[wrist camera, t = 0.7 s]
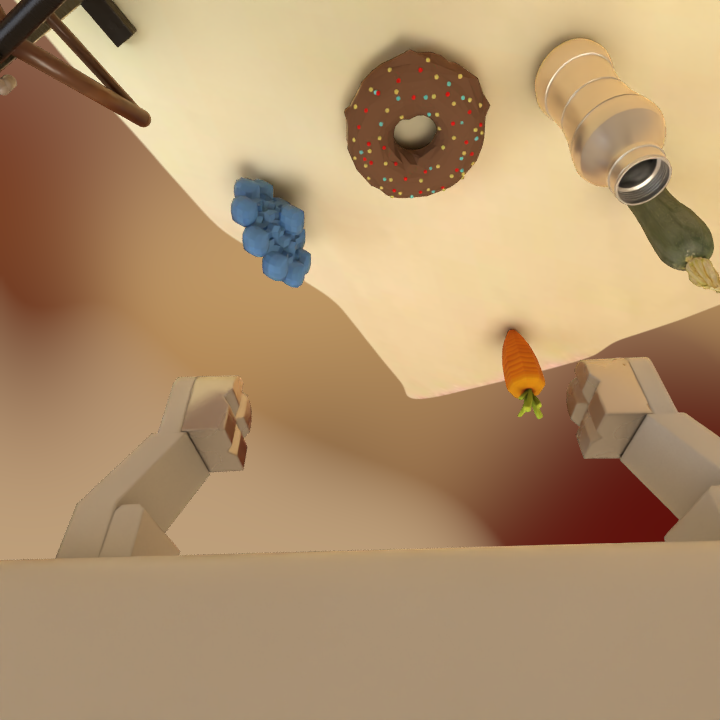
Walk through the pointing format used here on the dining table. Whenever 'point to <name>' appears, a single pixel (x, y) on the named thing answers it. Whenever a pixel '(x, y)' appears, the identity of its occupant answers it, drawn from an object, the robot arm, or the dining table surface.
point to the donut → (404, 101)
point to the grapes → (271, 231)
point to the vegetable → (679, 238)
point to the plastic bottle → (604, 122)
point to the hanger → (76, 74)
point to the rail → (42, 3)
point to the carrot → (522, 372)
